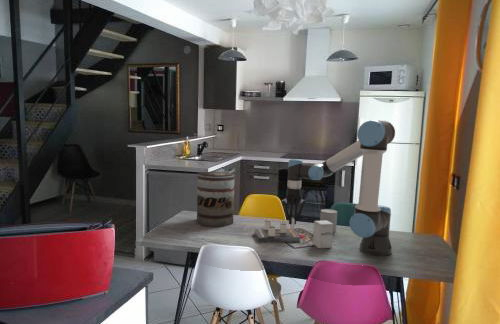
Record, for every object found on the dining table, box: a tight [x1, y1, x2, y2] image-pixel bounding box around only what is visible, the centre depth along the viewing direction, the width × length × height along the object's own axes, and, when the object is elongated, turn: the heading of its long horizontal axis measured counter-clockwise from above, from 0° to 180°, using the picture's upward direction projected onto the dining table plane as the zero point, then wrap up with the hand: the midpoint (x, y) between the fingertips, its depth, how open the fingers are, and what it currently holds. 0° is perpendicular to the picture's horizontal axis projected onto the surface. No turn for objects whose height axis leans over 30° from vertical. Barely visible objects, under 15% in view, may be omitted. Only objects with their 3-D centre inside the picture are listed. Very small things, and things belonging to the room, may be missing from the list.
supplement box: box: [312, 220, 333, 249], centre depth 187 cm, size 7×7×13 cm
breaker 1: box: [263, 220, 272, 230], centre depth 203 cm, size 3×3×5 cm
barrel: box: [196, 171, 236, 228], centre depth 225 cm, size 22×22×30 cm
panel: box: [254, 228, 301, 243], centre depth 199 cm, size 15×22×3 cm
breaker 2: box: [268, 225, 276, 236], centre depth 192 cm, size 3×3×5 cm
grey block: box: [319, 208, 338, 235], centre depth 213 cm, size 10×10×12 cm
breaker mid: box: [279, 222, 288, 233], centre depth 199 cm, size 3×3×5 cm
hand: (292, 230), depth 200 cm, fingers closed
